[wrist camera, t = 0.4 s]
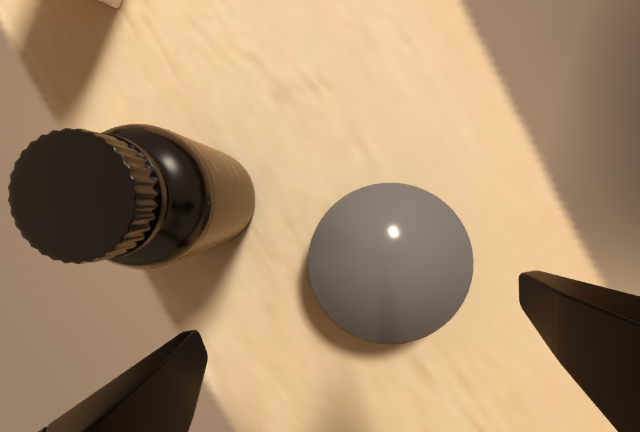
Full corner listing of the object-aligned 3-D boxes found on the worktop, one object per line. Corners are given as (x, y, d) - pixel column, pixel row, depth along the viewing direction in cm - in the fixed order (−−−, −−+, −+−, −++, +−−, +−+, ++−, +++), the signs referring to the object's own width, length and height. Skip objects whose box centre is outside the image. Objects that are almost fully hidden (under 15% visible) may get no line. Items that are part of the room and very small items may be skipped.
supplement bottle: (226, 261, 23) (99, 333, 11) (150, 210, 23) (-58, 226, 11) (276, 183, 22) (199, 169, 10) (198, 131, 22) (32, 57, 10)
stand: (458, 321, 22) (476, 341, 19) (317, 327, 23) (314, 346, 20) (451, 179, 21) (469, 176, 18) (307, 190, 22) (302, 189, 19)
